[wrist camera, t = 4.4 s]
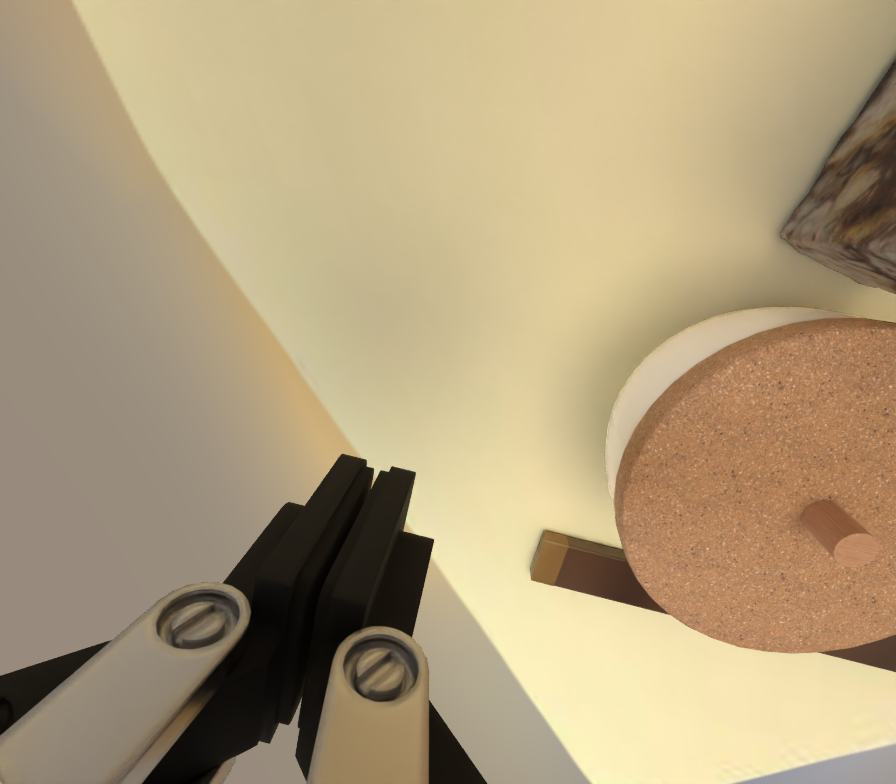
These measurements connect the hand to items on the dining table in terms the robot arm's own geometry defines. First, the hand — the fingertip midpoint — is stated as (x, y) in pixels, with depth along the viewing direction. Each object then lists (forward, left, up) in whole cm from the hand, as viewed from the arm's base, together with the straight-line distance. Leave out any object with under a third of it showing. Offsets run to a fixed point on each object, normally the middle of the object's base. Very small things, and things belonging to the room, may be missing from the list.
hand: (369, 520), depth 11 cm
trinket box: (+12, +1, -12) cm, 17 cm away
